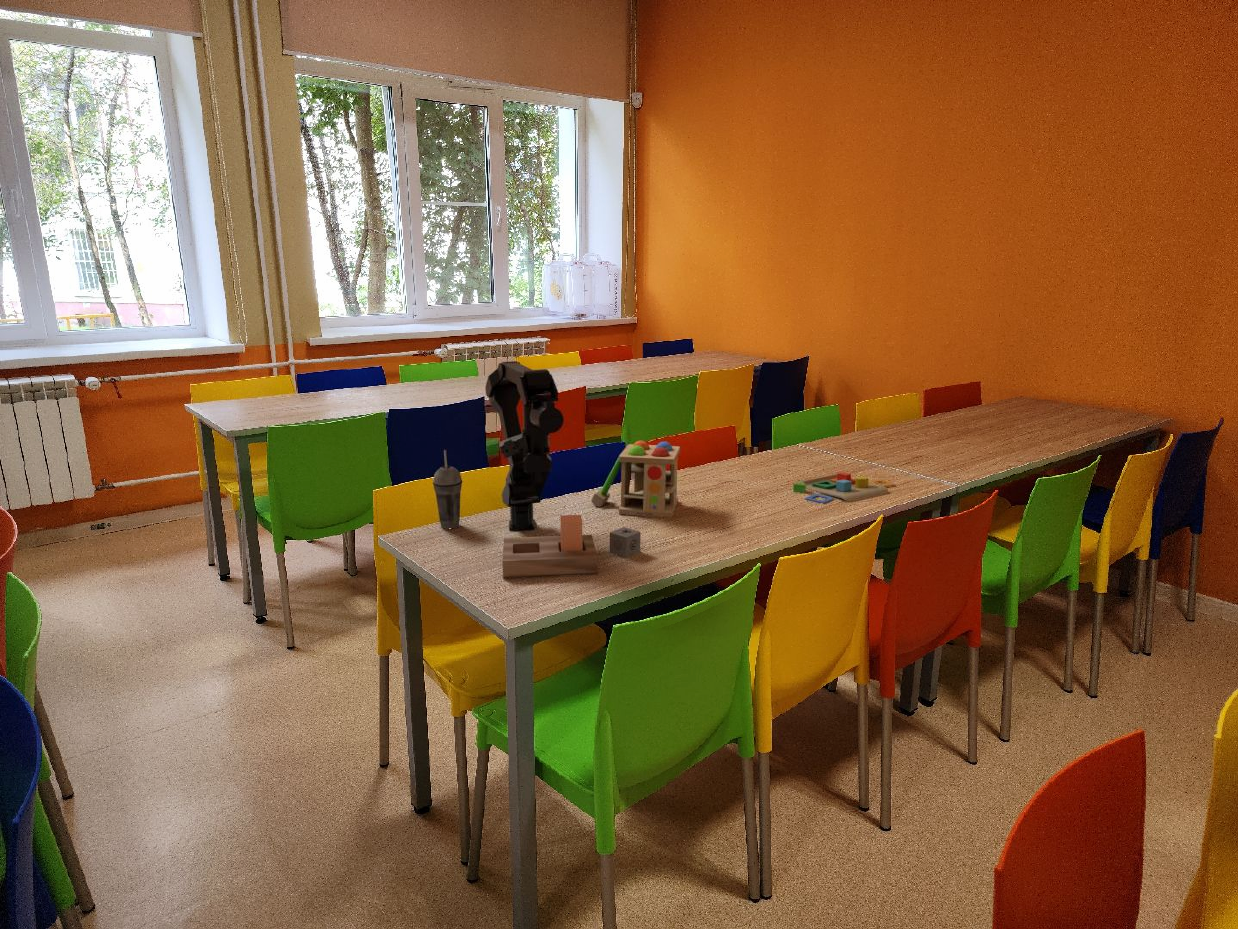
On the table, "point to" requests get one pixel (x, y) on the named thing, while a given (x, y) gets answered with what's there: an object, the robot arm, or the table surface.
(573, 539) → the pin
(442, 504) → the beverage cup
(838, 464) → the table surface
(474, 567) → the table surface
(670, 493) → the pounding bench toy
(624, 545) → the dice cube
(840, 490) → the shape sorter
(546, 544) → the socket block
